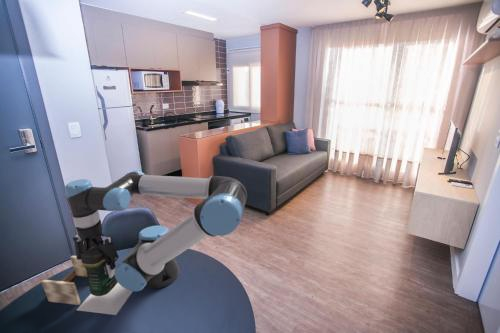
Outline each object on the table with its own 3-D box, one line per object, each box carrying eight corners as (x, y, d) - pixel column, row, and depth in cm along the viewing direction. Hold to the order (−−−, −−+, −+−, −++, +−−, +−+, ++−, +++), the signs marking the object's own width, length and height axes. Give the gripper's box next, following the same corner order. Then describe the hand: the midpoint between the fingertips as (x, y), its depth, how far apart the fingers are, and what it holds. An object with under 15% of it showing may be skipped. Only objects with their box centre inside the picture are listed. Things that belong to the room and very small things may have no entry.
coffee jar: (106, 298, 91) (94, 257, 84) (87, 296, 92) (74, 255, 86) (123, 278, 100) (113, 240, 93) (105, 276, 101) (95, 238, 95)
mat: (137, 284, 103) (137, 284, 103) (116, 315, 90) (115, 314, 90) (102, 281, 105) (102, 281, 105) (76, 310, 92) (76, 309, 92)
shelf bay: (104, 276, 108) (99, 257, 104) (78, 304, 94) (72, 284, 91) (75, 273, 110) (69, 255, 106) (46, 301, 96) (38, 281, 93)
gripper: (122, 218, 88) (133, 269, 96) (70, 215, 91) (85, 265, 98) (108, 230, 81) (121, 284, 89) (52, 227, 84) (69, 279, 91)
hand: (102, 274), depth 94 cm, fingers closed on coffee jar, 8 cm apart
